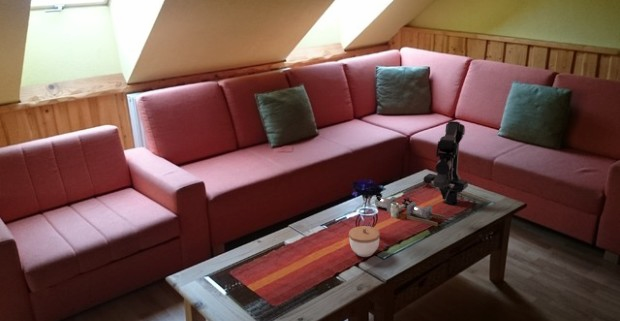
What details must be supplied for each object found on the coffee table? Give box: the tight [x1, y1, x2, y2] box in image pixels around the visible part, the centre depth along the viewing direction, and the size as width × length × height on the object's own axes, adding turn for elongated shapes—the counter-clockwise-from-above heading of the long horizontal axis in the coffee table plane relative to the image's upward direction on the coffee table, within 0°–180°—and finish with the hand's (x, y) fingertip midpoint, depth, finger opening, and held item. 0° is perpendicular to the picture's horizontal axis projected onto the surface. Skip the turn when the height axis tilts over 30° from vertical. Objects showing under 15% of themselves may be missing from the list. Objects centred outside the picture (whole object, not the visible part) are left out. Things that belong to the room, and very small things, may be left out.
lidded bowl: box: [348, 225, 381, 258], centre depth 214 cm, size 13×13×11 cm
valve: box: [390, 197, 414, 219], centre depth 249 cm, size 7×7×12 cm
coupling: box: [406, 201, 433, 221], centre depth 244 cm, size 10×6×6 cm, turn 52°
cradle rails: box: [406, 212, 446, 227], centre depth 243 cm, size 9×15×2 cm, turn 53°
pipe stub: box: [374, 196, 398, 214], centre depth 255 cm, size 9×6×6 cm, turn 53°
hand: (444, 199), depth 235 cm, fingers closed
